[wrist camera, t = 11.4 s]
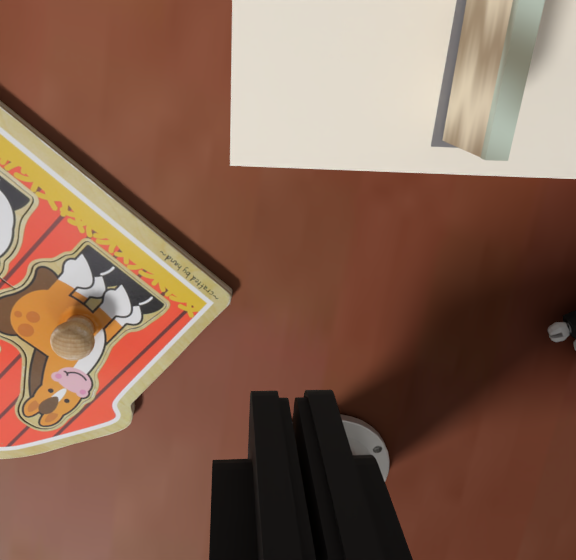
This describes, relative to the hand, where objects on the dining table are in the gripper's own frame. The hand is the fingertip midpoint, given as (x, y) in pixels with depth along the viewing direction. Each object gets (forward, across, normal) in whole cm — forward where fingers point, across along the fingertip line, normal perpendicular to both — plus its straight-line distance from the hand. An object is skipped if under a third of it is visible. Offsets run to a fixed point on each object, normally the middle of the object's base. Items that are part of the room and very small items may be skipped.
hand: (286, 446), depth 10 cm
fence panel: (+26, -14, -8) cm, 31 cm away
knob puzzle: (+28, +20, +12) cm, 36 cm away
